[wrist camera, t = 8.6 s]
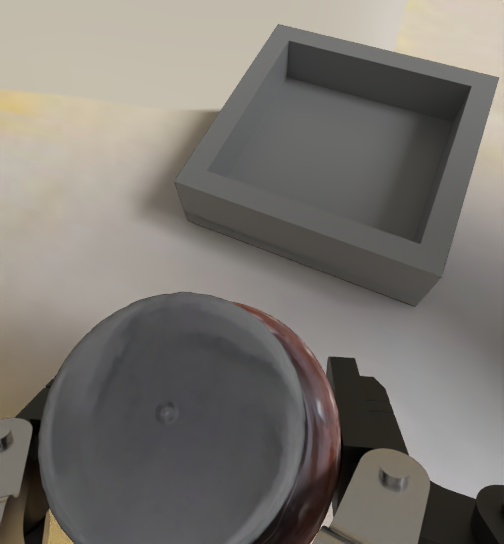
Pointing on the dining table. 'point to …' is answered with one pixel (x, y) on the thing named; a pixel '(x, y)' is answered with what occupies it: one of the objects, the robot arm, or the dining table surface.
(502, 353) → the dining table surface
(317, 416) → the supplement bottle
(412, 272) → the tray
